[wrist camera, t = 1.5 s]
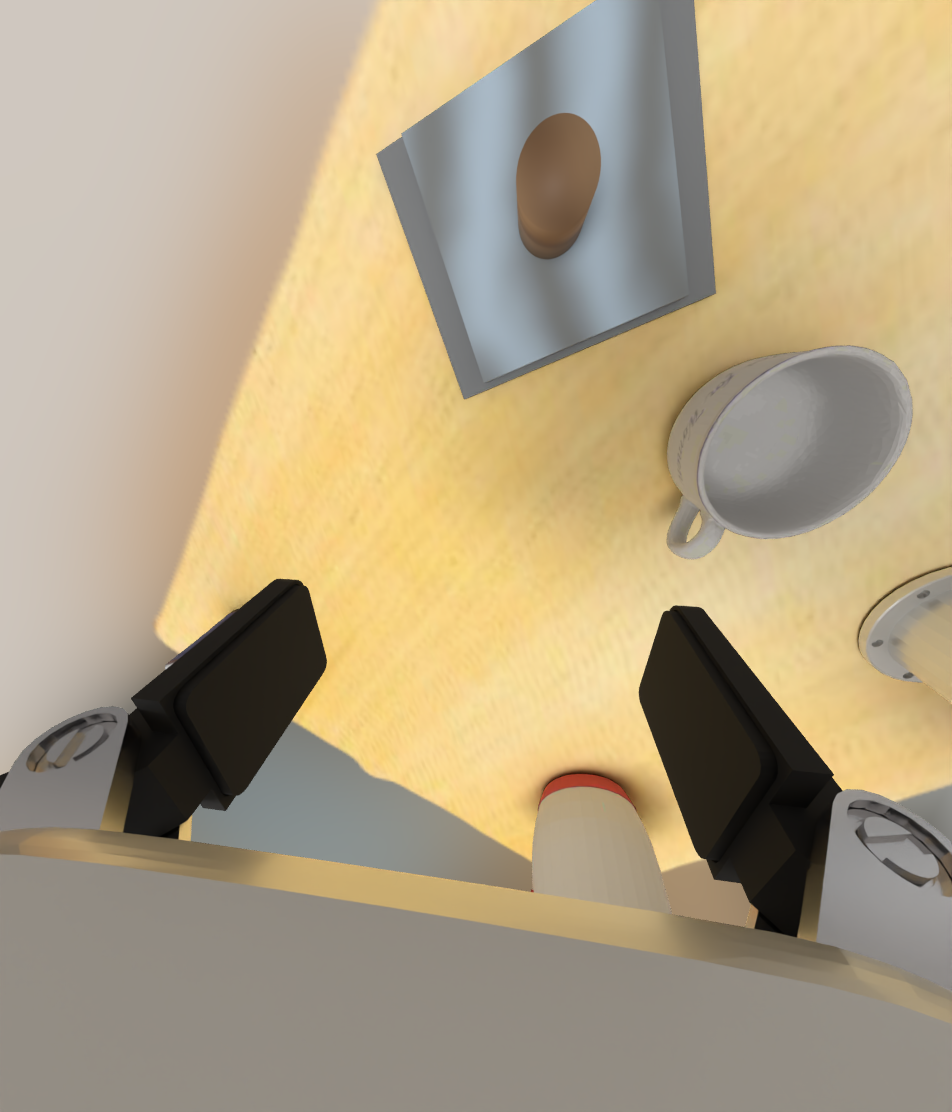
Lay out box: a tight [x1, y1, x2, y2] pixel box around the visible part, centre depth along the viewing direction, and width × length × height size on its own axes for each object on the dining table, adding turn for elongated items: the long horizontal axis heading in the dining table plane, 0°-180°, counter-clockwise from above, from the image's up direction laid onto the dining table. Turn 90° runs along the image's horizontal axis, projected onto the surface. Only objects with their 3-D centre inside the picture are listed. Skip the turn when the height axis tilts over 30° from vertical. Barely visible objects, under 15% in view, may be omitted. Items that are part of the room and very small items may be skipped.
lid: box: [402, 0, 689, 383], centre depth 19 cm, size 14×14×6 cm
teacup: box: [667, 345, 913, 559], centre depth 24 cm, size 14×11×8 cm
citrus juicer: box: [531, 774, 672, 914], centre depth 41 cm, size 16×17×20 cm
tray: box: [376, 0, 716, 399], centre depth 22 cm, size 18×15×1 cm
